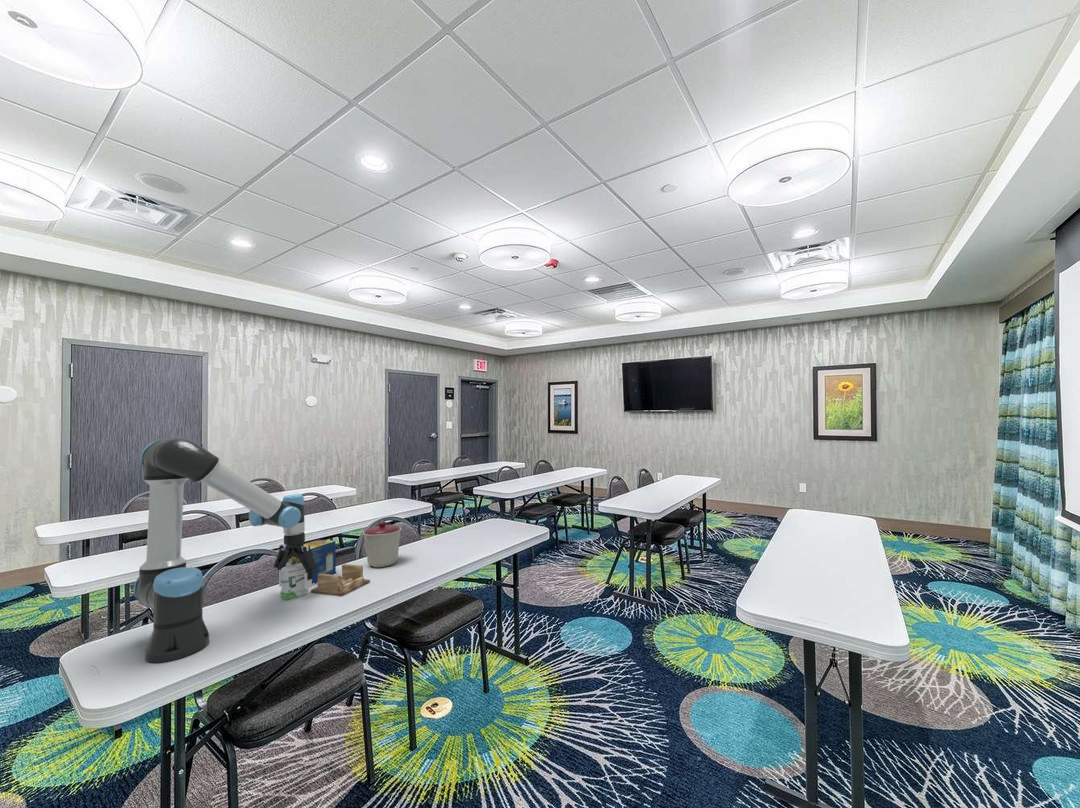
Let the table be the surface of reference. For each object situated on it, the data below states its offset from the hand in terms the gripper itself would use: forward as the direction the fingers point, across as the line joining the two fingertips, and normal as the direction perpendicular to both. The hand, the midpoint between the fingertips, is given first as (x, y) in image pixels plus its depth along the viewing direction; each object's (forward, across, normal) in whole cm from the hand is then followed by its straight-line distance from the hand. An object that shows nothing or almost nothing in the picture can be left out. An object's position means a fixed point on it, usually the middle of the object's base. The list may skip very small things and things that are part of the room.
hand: (295, 586), depth 177 cm
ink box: (+4, 0, 0) cm, 4 cm away
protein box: (+4, +9, -18) cm, 20 cm away
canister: (+4, -8, -43) cm, 44 cm away
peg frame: (+4, -12, -12) cm, 17 cm away
